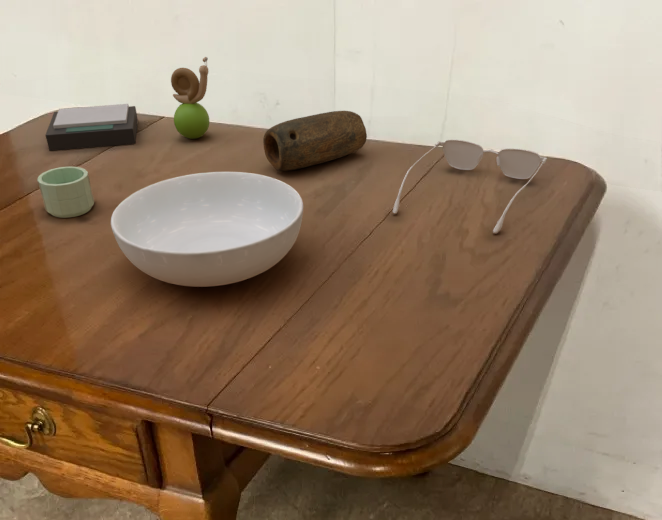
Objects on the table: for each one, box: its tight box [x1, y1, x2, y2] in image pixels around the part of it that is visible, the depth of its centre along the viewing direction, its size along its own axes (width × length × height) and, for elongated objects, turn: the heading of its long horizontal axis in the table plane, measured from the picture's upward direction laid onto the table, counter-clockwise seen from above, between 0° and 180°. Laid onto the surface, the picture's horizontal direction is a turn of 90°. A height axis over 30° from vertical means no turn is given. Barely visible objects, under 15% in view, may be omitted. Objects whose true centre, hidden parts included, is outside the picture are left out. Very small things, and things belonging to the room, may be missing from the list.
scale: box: [45, 103, 139, 151], centre depth 122 cm, size 13×11×3 cm
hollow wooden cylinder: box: [262, 110, 368, 172], centre depth 110 cm, size 15×7×7 cm, turn 130°
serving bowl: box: [110, 171, 304, 288], centre depth 86 cm, size 21×21×7 cm
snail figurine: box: [170, 56, 210, 140], centre depth 117 cm, size 5×6×12 cm
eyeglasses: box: [392, 139, 548, 235], centre depth 100 cm, size 15×18×4 cm
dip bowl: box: [36, 165, 95, 219], centre depth 100 cm, size 6×6×4 cm
